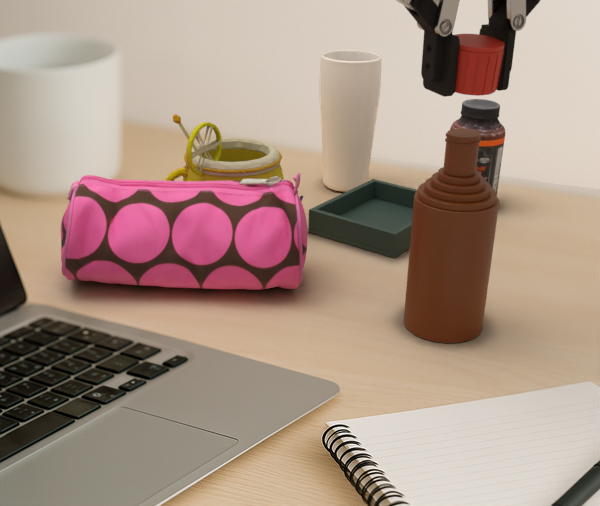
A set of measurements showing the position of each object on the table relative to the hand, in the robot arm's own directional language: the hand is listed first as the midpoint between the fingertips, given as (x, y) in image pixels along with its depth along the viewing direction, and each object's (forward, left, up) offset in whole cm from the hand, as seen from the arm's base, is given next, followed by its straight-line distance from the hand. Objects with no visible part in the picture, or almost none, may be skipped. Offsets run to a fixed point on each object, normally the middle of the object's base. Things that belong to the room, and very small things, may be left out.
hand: (465, 86), depth 58 cm
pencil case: (+6, -22, -20) cm, 30 cm away
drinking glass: (-24, -25, -20) cm, 40 cm away
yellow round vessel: (-6, -28, -20) cm, 35 cm away
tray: (-16, -15, -20) cm, 29 cm away
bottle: (-1, 0, -20) cm, 20 cm away
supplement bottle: (-28, -11, -20) cm, 36 cm away
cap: (0, 0, 0) cm, 1 cm away
